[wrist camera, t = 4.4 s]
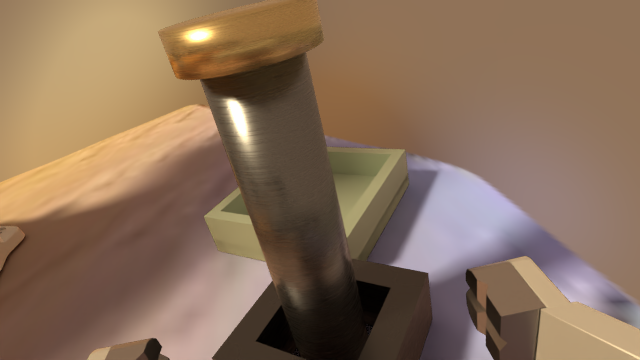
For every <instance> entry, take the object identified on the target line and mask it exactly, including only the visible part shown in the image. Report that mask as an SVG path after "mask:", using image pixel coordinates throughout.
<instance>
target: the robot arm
mask: <svg viewBox="0 0 640 360" xmlns="http://www.w3.org/2000/svg"><path fill="white" fill-rule="evenodd" d="M24 237H25V234H24V233H23V232H22V230H21V229H20V228H19V227H17V226H0V271H1V269H2V267H3V265H4V262H5V260H6V258H7V256H8V254H9V253H10V252H11V251H12V250H13V249H14V248H15V247H16V246H17V245H18V244H19V243H20V242H21V241H22V240H23V238H24ZM466 282H467V284H468V285H469V287H470V289H469V290H468V292H467V293H466V299H467V306H468V310H469V314H470V316H471V319H472V321H473V323H474V325H475V327H476V329H477V330H478V331H479V332H481V333H483V334H484V335H486V347H487V348H488V350H489V352H490V354H491V355H492V357H493V359H494V360H640V329H638V328H635V327H633V326H631V325H629V324H626V323H624V322H622V321H620V320H617V319H615V318H613V317H611V316H608V315H606V314H604V313H602V312H599V311H597V310H595V309H593V308H590V307H588V306H586V305H584V304H581V303H579V302H572V303H570V301H569V300H568V299H567V298H566V297H565V296H564V295H563V294H562V293H561V291H560V290H559V289H558V288H557V287H556V286H555V285H554V284H553V283H552V282H551V280H550V279H549V278H548V277H547V276H546V275H545V274H544V273H543V272H542V270H541V269H540V268H539V267H538V266H537V265H536V264H535V263H534V262H533V260H532V259H531V258H529V257H527V256H523V257H519V258H514V259H510V260H506V261H501V262H497V263H492V264H488V265H483V266H479V267H475V268H470V269H467V271H466ZM161 348H162V346H161V345H160V343H159V342H158V340H157V339H156V338H150V339H145V340H140V341H134V342H129V343H124V344H119V345H114V346H110V347H105V348H100V349H96V350H94V351H93V352H92V353H91V354H90V355H89V357H88V359H87V360H170V359H169V358H168V357H166V356H164V355H162V354H160V351H161Z"/></svg>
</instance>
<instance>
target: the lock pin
mask: <svg viewBox="0 0 640 360" xmlns="http://www.w3.org/2000/svg"><path fill="white" fill-rule="evenodd" d="M158 33H159V36H160V38H161V41H162V43H163V46H164V48H165V51H166V53H167V56H168V59H169V61H170V64H171V66H172V69H173V71H174V74H175V76H176V78H178V79H183V80H198V79H200V81H201V84H202V87H203V89H204V92H205V95H206V98H207V100H208V103H209V106H210V109H211V112H212V114H213V117H214V120H215V123H216V125H217V128H218V131H219V134H220V136H221V139H222V142H223V145H224V147H225V150H226V153H227V156H228V158H229V161H230V164H231V167H232V169H233V172H234V175H235V178H236V181H237V183H238V186H239V189H240V192H241V194H242V197H243V200H244V203H245V205H246V208H247V211H248V214H249V216H250V219H251V222H252V225H253V227H254V230H255V233H256V236H257V239H258V241H259V244H260V247H261V250H262V252H263V255H264V258H265V261H266V263H267V266H268V269H269V272H270V274H271V277H272V280H273V283H274V285H275V288H276V291H277V294H278V297H279V299H280V302H281V305H282V308H283V310H284V313H285V316H286V319H287V321H288V324H289V327H290V330H291V332H292V335H293V338H294V341H295V343H296V346H297V349H298V352H299V355H300V357H301V358H303V359H306V360H358V359H359V357H360V354H361V352H362V350H363V348H364V346H365V343H366V341H367V339H368V333H367V328H366V323H365V319H364V314H363V310H362V305H361V301H360V296H359V292H358V287H357V283H356V278H355V273H354V269H353V264H352V260H351V255H350V251H349V246H348V242H347V237H346V233H345V228H344V223H343V219H342V214H341V210H340V205H339V201H338V196H337V192H336V187H335V183H334V178H333V173H332V169H331V164H330V160H329V155H328V151H327V146H326V142H325V137H324V133H323V128H322V123H321V119H320V115H319V110H318V105H317V101H316V96H315V92H314V87H313V83H312V78H311V74H310V69H309V64H308V60H307V55H306V52H307V51H309V50H311V49H312V48H315V47H316V46H318V45H319V44H321V43H322V42H323V41H324V35H323V30H322V25H321V20H320V15H319V10H318V4H317V0H267V1H262V2H258V3H253V4H249V5H245V6H241V7H237V8H232V9H229V10H225V11H221V12H217V13H213V14H209V15H206V16H202V17H198V18H195V19H191V20H188V21H185V22H181V23H178V24H175V25H172V26H169V27H166V28H164V29H161V30H159V31H158Z"/></svg>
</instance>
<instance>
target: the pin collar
mask: <svg viewBox="0 0 640 360" xmlns="http://www.w3.org/2000/svg"><path fill="white" fill-rule="evenodd" d="M351 260H352V264H353V269H354V273H355V278H356V283H357V287H358V292H359V296H360V301H361V305H362V310H363V314H364V319H365V323H366V324H369V325H372V326H373V328H372V330H371V333H370V335H369V337H368V339H367V341H366V343H365V346H364V348H363V350H362V352H361V354H360V357H359V359H358V360H419V359H420V356H421V353H422V350H423V346H424V343H425V340H426V337H427V334H428V331H429V328H430V325H431V322H432V308H431V298H430V287H429V277H428V273H425V272H420V271H415V270H410V269H404V268H399V267H394V266H389V265H384V264H378V263H373V262H368V261H363V260H358V259H352V258H351ZM296 348H297V346H296V343H295V341H294V338H293V335H292V332H291V330H290V327H289V324H288V321H287V319H286V316H285V313H284V310H283V308H282V305H281V302H280V299H279V297H278V294H277V291H276V288H275V285H274V283H273V281H272V282H271V283H270V285H269V286H268V287H267V288H266V290H265V291H264V292H263V293H262V295H261V296H260V297H259V299H258V300H257V301H256V302H255V304H254V305H253V306H252V308H251V309H250V310H249V311H248V313H247V314H246V315H245V317H244V318H243V319H242V320H241V322H240V323H239V324H238V325H237V327H236V328H235V329H234V331H233V332H232V333H231V334H230V336H229V337H228V338H227V340H226V341H225V342H224V343H223V345H222V346H221V347H220V348H219V350H218V351H217V352H216V354H215V355H214V356H213V357H212V359H213V360H306V359H303V358H301V357H298V356H295V355H292V354H293V353H294V351H295V349H296Z"/></svg>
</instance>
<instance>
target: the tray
mask: <svg viewBox="0 0 640 360" xmlns="http://www.w3.org/2000/svg"><path fill="white" fill-rule="evenodd" d="M327 151H328V155H329V160H330V164H331V169H332V173H333V178H334V183H335V187H336V192H337V196H338V201H339V205H340V210H341V214H342V219H343V223H344V228H345V233H346V237H347V242H348V246H349V251H350V255H351V258H352V259H358V260H363V261H366V260H367V258H368V257H369V255H370V253H371V251H372V249H373V248H374V246H375V244H376V242H377V241H378V239H379V237H380V235H381V233H382V232H383V230H384V228H385V226H386V225H387V223H388V221H389V219H390V217H391V216H392V214H393V212H394V210H395V208H396V207H397V205H398V203H399V201H400V200H401V198H402V196H403V194H404V192H405V191H406V189H407V187H408V185H409V179H408V170H407V160H406V151H405V149H377V148H348V147H327ZM204 218H205V221H206V223H207V225H208V228H209V230H210V232H211V235H212V237H213V239H214V242H215V244H216V246H217V248H218V251H221V252H226V253H230V254H235V255H239V256H244V257H248V258H252V259H257V260H261V261H265V258H264V255H263V252H262V250H261V247H260V244H259V241H258V239H257V236H256V233H255V230H254V227H253V225H252V222H251V219H250V216H249V214H248V211H247V208H246V205H245V203H244V200H243V197H242V194H241V192H240V189H239V187H238V188H236V189H235V190H234V191H233V192H232V193H231V194H229V195H228V196H227V197H226V198H225V199H224V200H222V201H221V202H220V203H219V204H218V205H217V206H215V207H214V208H213V209H212V210H211V211H210V212H208V213H207V214H206V215H205V216H204Z"/></svg>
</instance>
